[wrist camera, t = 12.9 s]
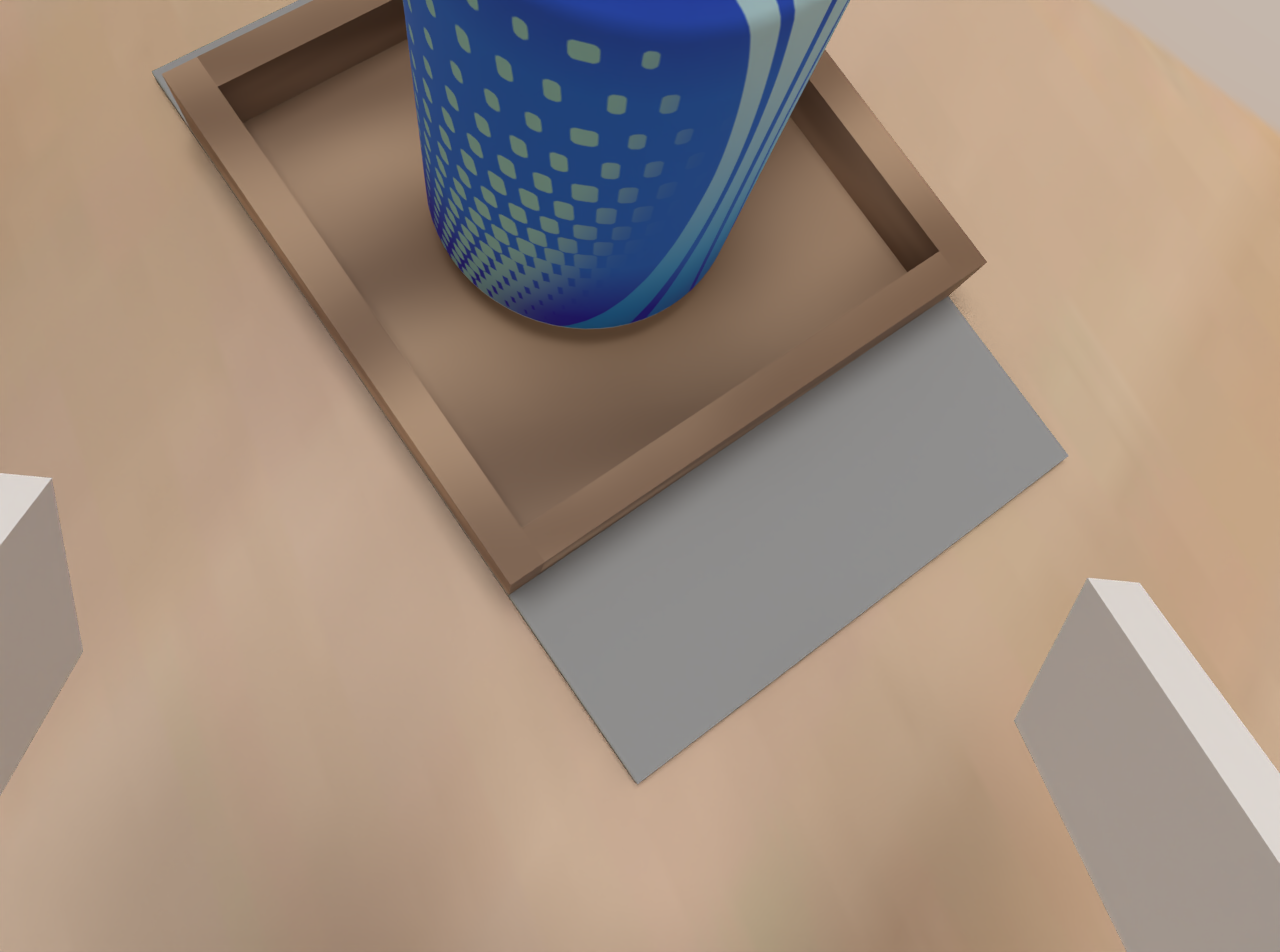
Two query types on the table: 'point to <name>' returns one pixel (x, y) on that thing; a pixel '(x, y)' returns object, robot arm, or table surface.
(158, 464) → the table surface
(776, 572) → the placemat
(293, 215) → the tray
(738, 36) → the beer can
